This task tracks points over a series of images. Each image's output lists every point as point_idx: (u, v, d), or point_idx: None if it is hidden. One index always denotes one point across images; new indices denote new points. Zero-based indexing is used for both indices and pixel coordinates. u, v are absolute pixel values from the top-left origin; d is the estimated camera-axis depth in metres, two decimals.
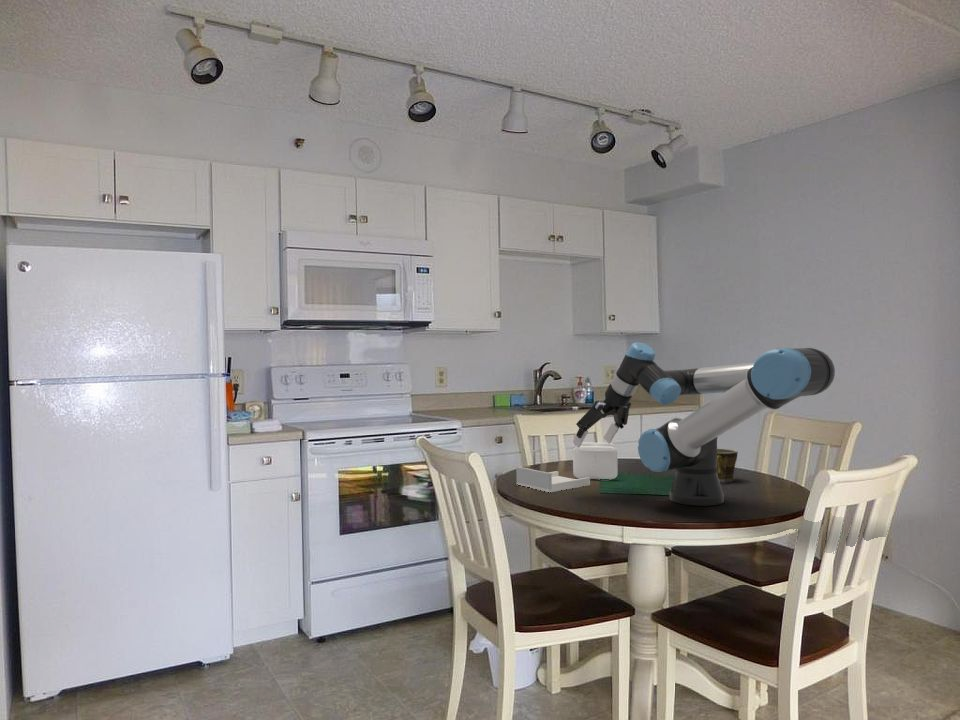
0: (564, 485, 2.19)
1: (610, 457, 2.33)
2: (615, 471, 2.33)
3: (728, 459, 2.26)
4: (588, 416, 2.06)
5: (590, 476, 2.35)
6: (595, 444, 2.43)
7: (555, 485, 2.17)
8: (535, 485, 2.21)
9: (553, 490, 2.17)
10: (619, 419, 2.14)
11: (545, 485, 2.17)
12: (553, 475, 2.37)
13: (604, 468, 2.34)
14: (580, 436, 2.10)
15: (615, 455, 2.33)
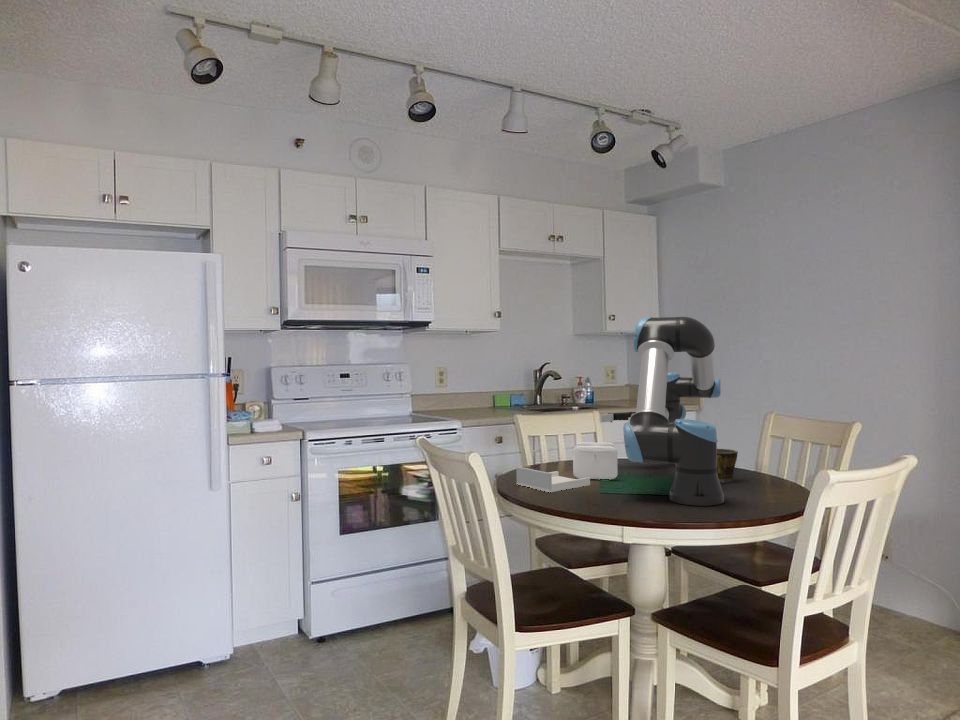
0: (564, 485, 2.19)
1: (610, 457, 2.33)
2: (615, 471, 2.33)
3: (728, 459, 2.26)
4: None
5: (590, 476, 2.35)
6: (595, 444, 2.43)
7: (555, 485, 2.17)
8: (535, 485, 2.21)
9: (553, 490, 2.17)
10: None
11: (545, 485, 2.17)
12: (553, 475, 2.37)
13: (604, 468, 2.34)
14: None
15: (615, 455, 2.33)
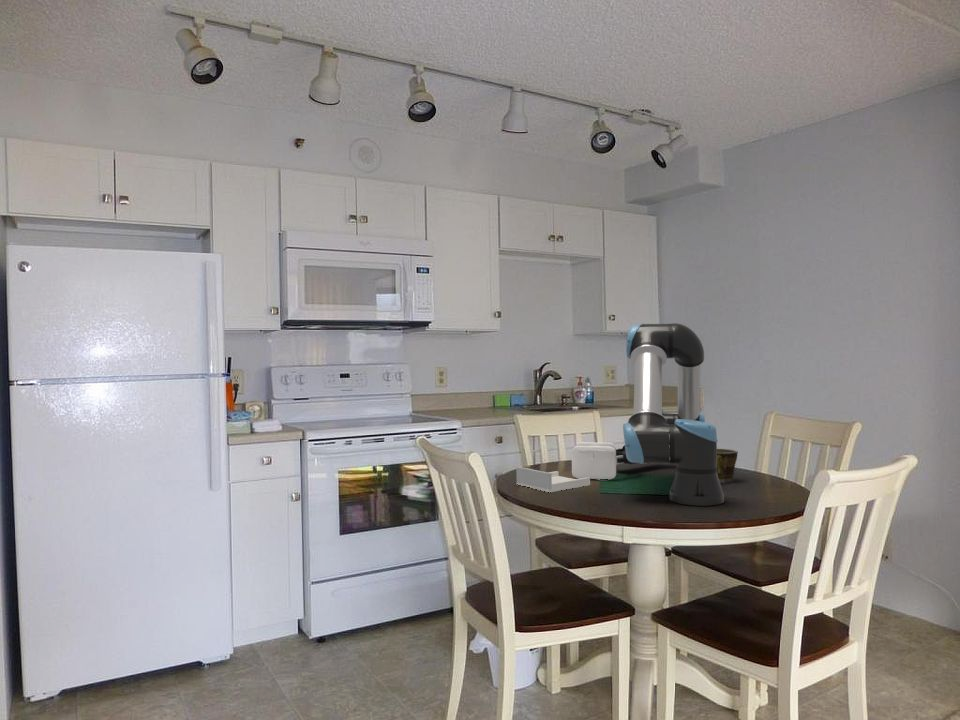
0: (564, 485, 2.19)
1: (609, 457, 2.33)
2: (613, 471, 2.33)
3: (728, 459, 2.26)
4: None
5: (589, 476, 2.35)
6: (595, 444, 2.43)
7: (555, 485, 2.17)
8: (535, 485, 2.21)
9: (553, 490, 2.17)
10: None
11: (545, 485, 2.17)
12: (553, 475, 2.37)
13: (602, 468, 2.33)
14: None
15: (613, 455, 2.33)
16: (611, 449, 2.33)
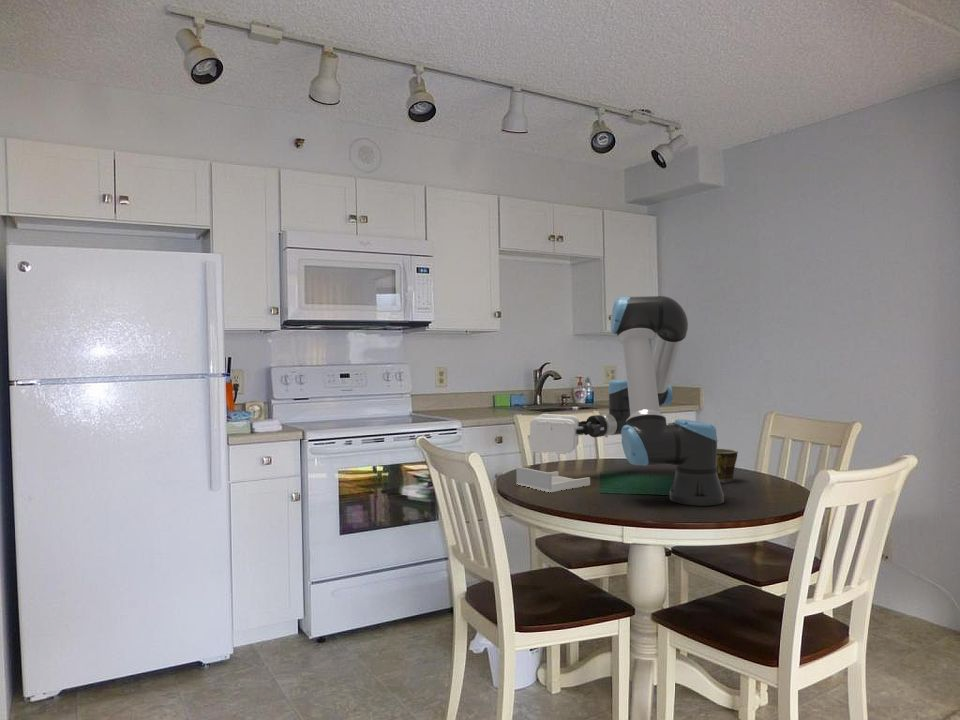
0: (564, 485, 2.19)
1: (567, 430, 2.22)
2: (571, 445, 2.22)
3: (728, 459, 2.26)
4: None
5: (546, 449, 2.25)
6: (557, 416, 2.32)
7: (555, 485, 2.17)
8: (535, 485, 2.21)
9: (553, 490, 2.17)
10: None
11: (545, 485, 2.17)
12: (553, 475, 2.37)
13: (560, 441, 2.23)
14: None
15: (572, 428, 2.22)
16: (569, 422, 2.22)
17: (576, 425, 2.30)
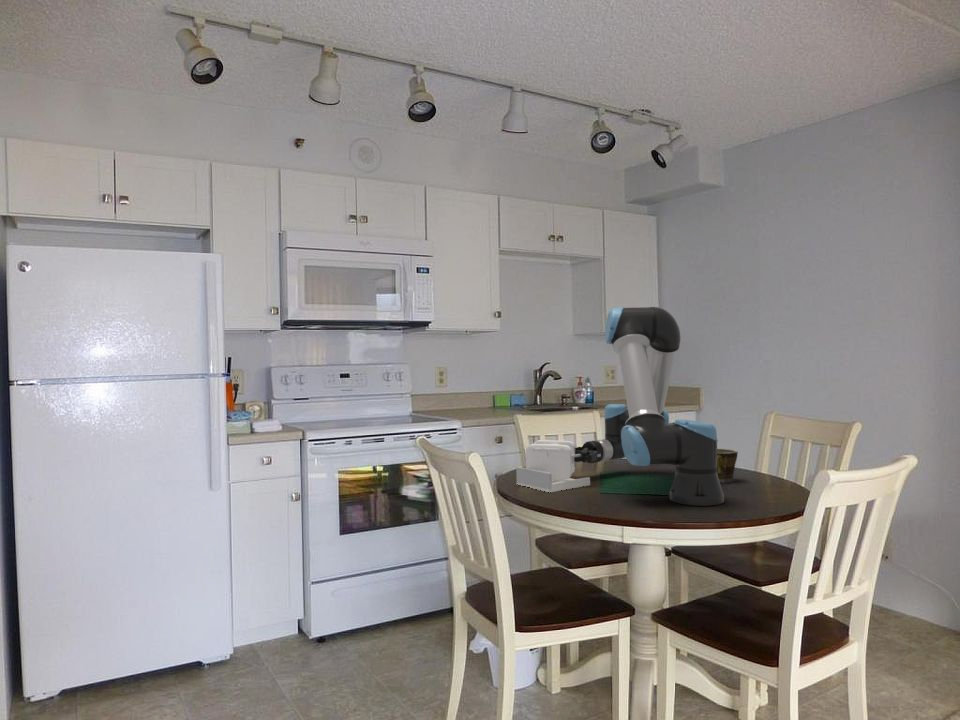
0: (564, 485, 2.19)
1: (563, 456, 2.20)
2: (568, 471, 2.20)
3: (728, 459, 2.26)
4: None
5: None
6: (553, 442, 2.30)
7: (555, 485, 2.17)
8: (535, 485, 2.21)
9: (553, 490, 2.17)
10: None
11: (545, 485, 2.17)
12: None
13: (557, 468, 2.21)
14: None
15: (568, 454, 2.20)
16: (565, 448, 2.20)
17: (572, 450, 2.28)
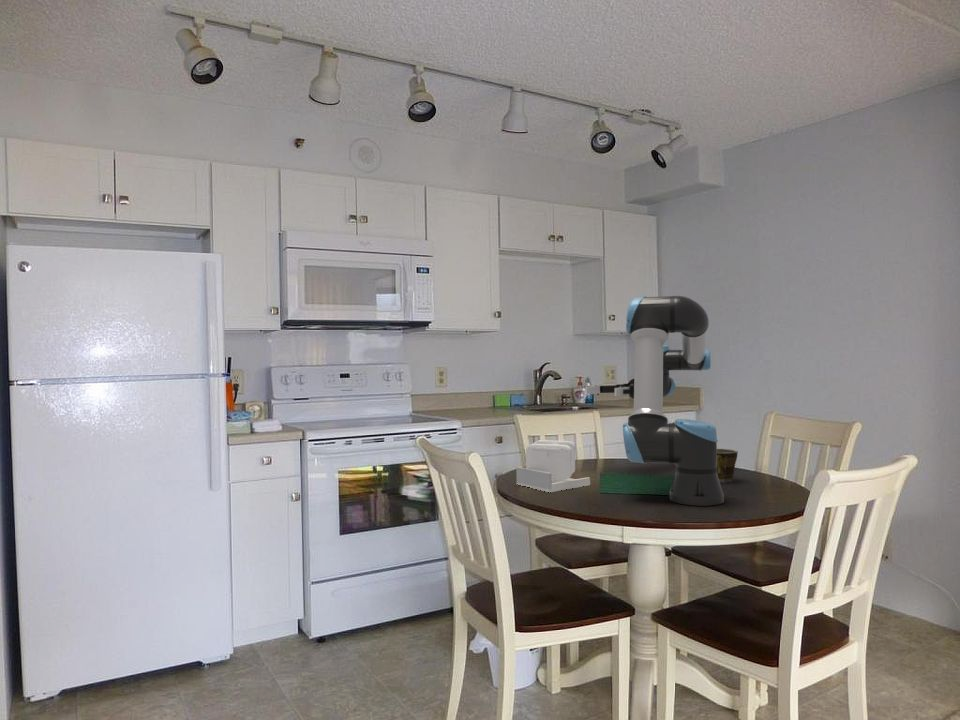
0: (564, 485, 2.19)
1: (563, 456, 2.20)
2: (568, 471, 2.20)
3: (728, 459, 2.26)
4: None
5: None
6: (553, 442, 2.30)
7: (555, 485, 2.17)
8: (535, 485, 2.21)
9: (553, 490, 2.17)
10: None
11: (545, 485, 2.17)
12: None
13: (557, 468, 2.21)
14: None
15: (568, 454, 2.20)
16: (566, 448, 2.20)
17: (572, 451, 2.28)
